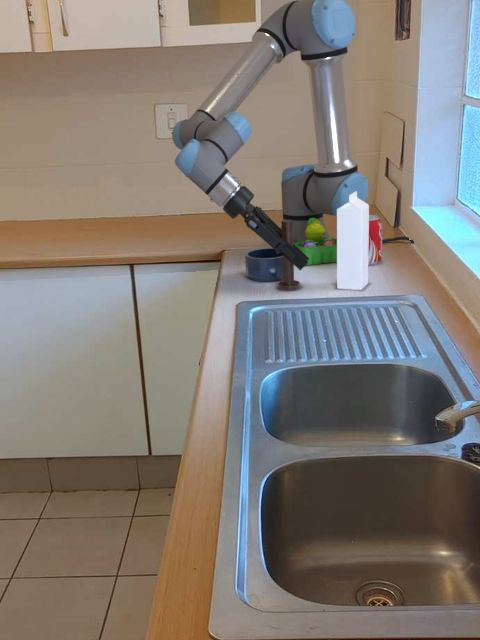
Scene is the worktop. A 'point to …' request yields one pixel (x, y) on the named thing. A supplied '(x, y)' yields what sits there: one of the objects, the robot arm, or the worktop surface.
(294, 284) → the brown post with base
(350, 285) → the milk
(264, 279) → the bowl
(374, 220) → the soda can
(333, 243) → the fruit basket
